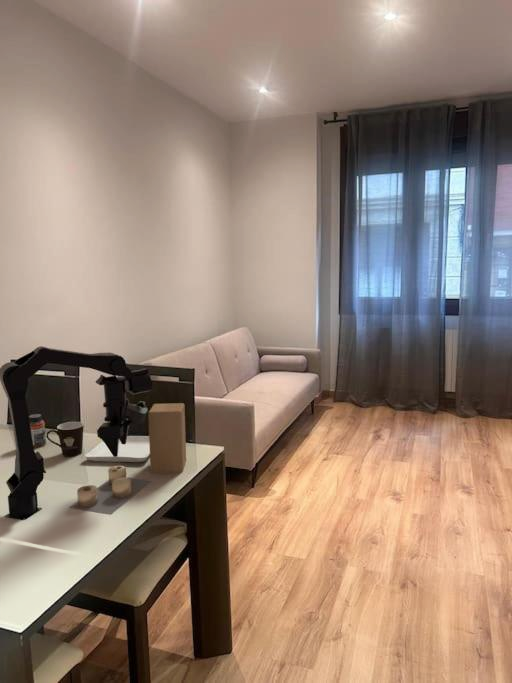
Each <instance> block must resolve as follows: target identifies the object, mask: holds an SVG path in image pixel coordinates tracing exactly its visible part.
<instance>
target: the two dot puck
mask: <svg viewBox="0 0 512 683" xmlns="http://www.w3.org/2000/svg"><path fill="white" fill-rule="evenodd" d="M107 470H108V480H109V484H110V485H112V481H113V480H115V479H118V478H127V467H126V466H123V465H115V466H112V467H110V468H108V469H107Z"/></svg>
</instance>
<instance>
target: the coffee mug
mask: <svg viewBox="0 0 512 683" xmlns="http://www.w3.org/2000/svg"><path fill="white" fill-rule="evenodd" d="M84 426H85V424H84V423H83V422H80V421H68V422H64V423H60V424H58V425H57V426H56V429H50V430H48V431H47V433H46V434H45V435H46V438H47V439H46V440H48V441H49V442H50V443H52V444H53V445H56V446H58V447H59V448H60V450H61V455H62V456H63V457H66V458H71V457H77V456H80V455H81V454H82V453H83V441H84ZM52 432H53V433H55V434H56V435H57V436H58V439H59V443H58V442H56V441H54V440H52V439H51V438H50V437H49V434H50V433H52Z"/></svg>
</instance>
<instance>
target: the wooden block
mask: <svg viewBox="0 0 512 683" xmlns="http://www.w3.org/2000/svg"><path fill="white" fill-rule="evenodd" d="M185 407H186V406H185V403H183V402H179V403H178V402H177V403H169V402H168V403H153V404H152V407H151V408H150V409H149V411H148V412H147V415H148V417H147V418H148V436H149V443H150V455H149V461H150V462H149V463H150V464H149V465H150V473H151V474H168V473H170V474H171V473H172V474H173V473H183V472H184V470H185V467H186V462H187V442H186V440H187V439H186V416H185V415H186V412H185V411H186V410H185Z"/></svg>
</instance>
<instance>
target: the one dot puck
mask: <svg viewBox="0 0 512 683" xmlns="http://www.w3.org/2000/svg"><path fill="white" fill-rule="evenodd" d="M97 488H98V486H96V485H93V484H92V485H91V484H90V485H89V484H88V485H84V486H81V487H78V489H77V490H76V492H77V501H78V506H79V507H81V508H89V507H92V506H95V505H96V504H97V503H98V497H97Z"/></svg>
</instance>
